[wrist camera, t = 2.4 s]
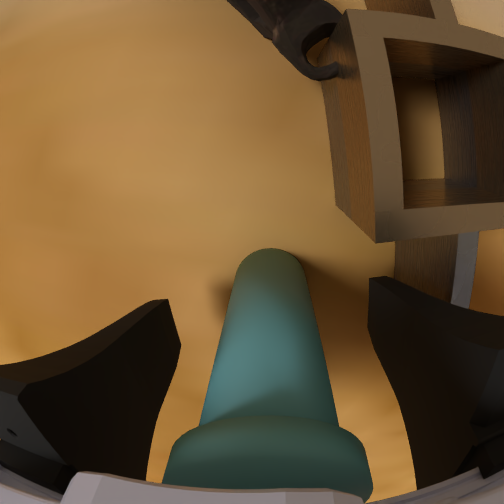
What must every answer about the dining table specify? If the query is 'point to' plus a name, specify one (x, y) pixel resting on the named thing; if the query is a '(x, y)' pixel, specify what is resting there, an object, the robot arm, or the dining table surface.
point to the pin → (270, 395)
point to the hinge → (388, 141)
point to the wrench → (294, 29)
